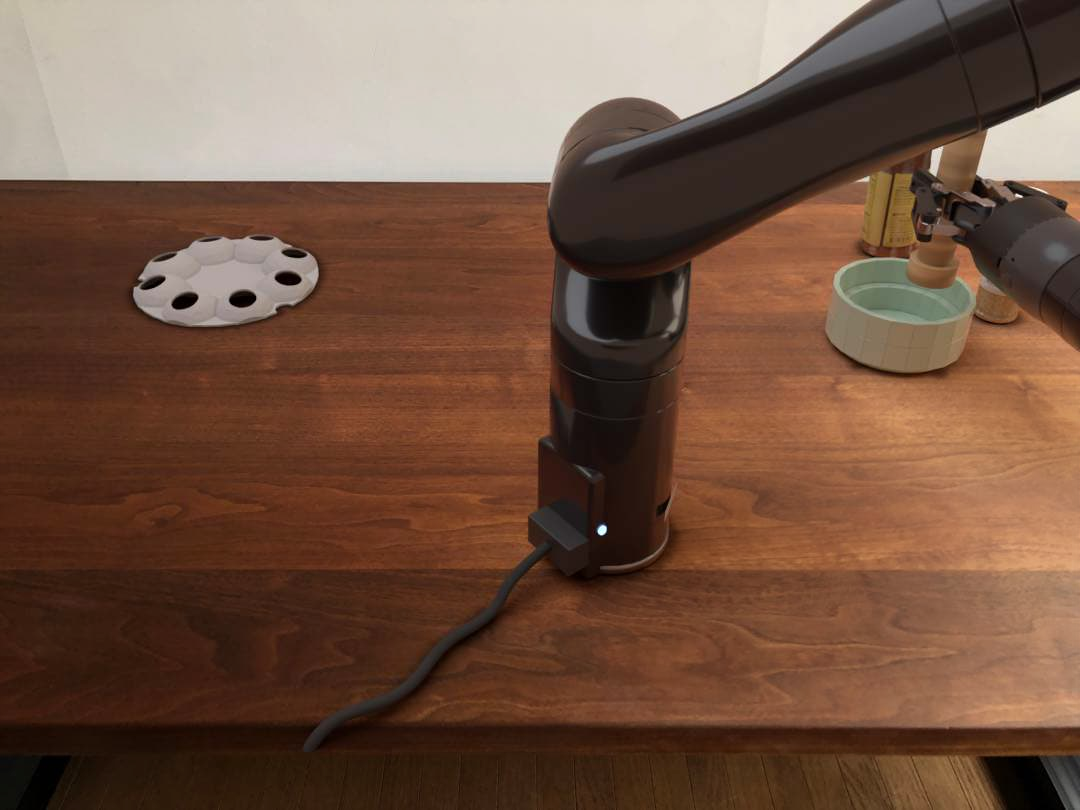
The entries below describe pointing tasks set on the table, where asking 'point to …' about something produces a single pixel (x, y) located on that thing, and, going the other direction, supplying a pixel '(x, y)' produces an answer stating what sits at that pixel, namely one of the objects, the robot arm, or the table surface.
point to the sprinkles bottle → (995, 300)
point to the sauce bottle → (891, 210)
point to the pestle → (956, 171)
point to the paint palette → (225, 280)
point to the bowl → (897, 317)
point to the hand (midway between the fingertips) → (935, 177)
